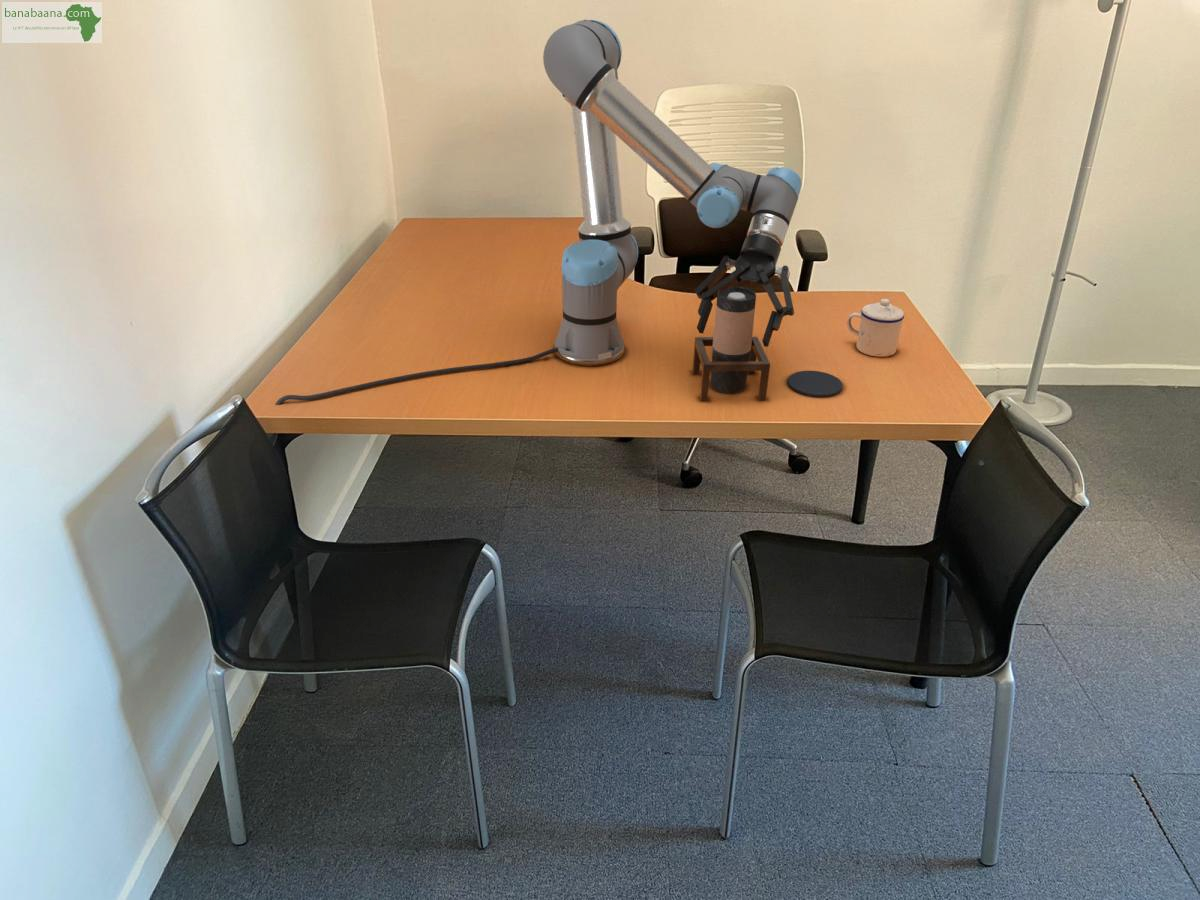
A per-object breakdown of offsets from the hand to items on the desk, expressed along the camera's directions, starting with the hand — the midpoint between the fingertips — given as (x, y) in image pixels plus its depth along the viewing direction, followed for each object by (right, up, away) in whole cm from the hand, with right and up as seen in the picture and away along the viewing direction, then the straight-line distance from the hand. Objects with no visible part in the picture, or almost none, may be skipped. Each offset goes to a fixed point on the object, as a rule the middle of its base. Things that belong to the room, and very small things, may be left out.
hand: (731, 337), depth 171 cm
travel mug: (0, -9, +7) cm, 11 cm away
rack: (0, -9, +7) cm, 11 cm away
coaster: (+18, -9, +7) cm, 22 cm away
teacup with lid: (+34, +1, +23) cm, 42 cm away
